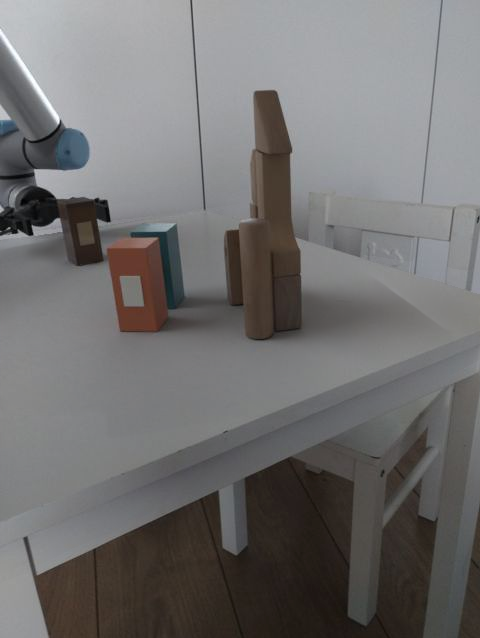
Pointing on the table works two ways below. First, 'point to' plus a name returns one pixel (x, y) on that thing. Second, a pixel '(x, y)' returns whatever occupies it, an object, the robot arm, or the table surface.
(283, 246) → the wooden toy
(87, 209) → the walnut letter block
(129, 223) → the table surface
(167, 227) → the teal letter block
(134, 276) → the terracotta letter block
